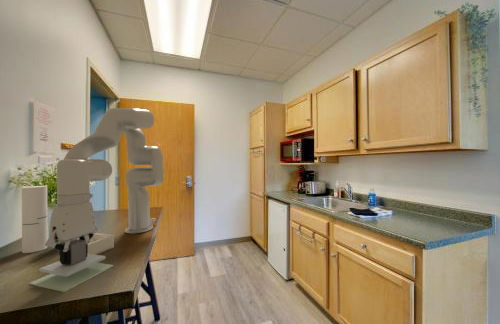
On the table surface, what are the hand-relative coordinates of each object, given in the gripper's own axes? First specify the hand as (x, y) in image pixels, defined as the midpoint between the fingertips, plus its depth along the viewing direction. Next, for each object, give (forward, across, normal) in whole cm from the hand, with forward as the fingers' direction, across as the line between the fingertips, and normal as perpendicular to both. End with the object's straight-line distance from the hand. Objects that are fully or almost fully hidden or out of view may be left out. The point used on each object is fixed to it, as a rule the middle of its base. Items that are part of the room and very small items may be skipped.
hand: (74, 259), depth 63 cm
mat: (+5, 0, 0) cm, 5 cm away
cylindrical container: (+5, -10, -37) cm, 39 cm away
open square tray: (+4, -14, -12) cm, 19 cm away
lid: (+1, 0, 0) cm, 1 cm away
